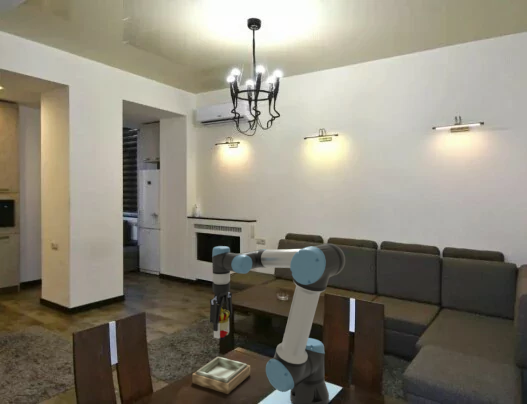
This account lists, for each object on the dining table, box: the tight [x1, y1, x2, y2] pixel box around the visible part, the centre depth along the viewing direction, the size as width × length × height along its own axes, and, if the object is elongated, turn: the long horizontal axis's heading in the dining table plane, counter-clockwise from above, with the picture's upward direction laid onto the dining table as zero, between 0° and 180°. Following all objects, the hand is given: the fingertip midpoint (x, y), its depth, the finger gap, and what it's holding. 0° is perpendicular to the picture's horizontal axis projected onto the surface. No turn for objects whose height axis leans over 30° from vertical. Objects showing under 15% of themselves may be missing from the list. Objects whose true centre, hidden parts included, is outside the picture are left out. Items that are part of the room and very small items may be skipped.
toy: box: [218, 306, 230, 341], centre depth 157 cm, size 7×7×15 cm
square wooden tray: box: [192, 356, 251, 395], centre depth 157 cm, size 18×18×5 cm
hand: (221, 334), depth 157 cm, fingers closed on toy, 6 cm apart
